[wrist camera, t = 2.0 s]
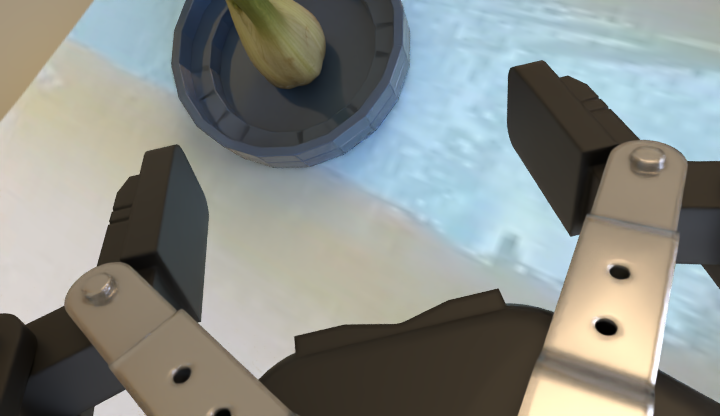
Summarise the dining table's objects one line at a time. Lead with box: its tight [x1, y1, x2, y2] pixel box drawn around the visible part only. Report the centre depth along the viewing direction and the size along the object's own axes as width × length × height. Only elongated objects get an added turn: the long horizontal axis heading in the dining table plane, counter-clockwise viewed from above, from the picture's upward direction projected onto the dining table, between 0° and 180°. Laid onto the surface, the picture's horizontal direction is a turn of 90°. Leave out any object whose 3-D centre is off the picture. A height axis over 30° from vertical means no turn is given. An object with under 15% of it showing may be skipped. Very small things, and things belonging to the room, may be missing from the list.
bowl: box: [171, 0, 410, 168], centre depth 35 cm, size 15×15×3 cm
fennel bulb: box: [225, 0, 326, 89], centre depth 31 cm, size 6×5×12 cm
